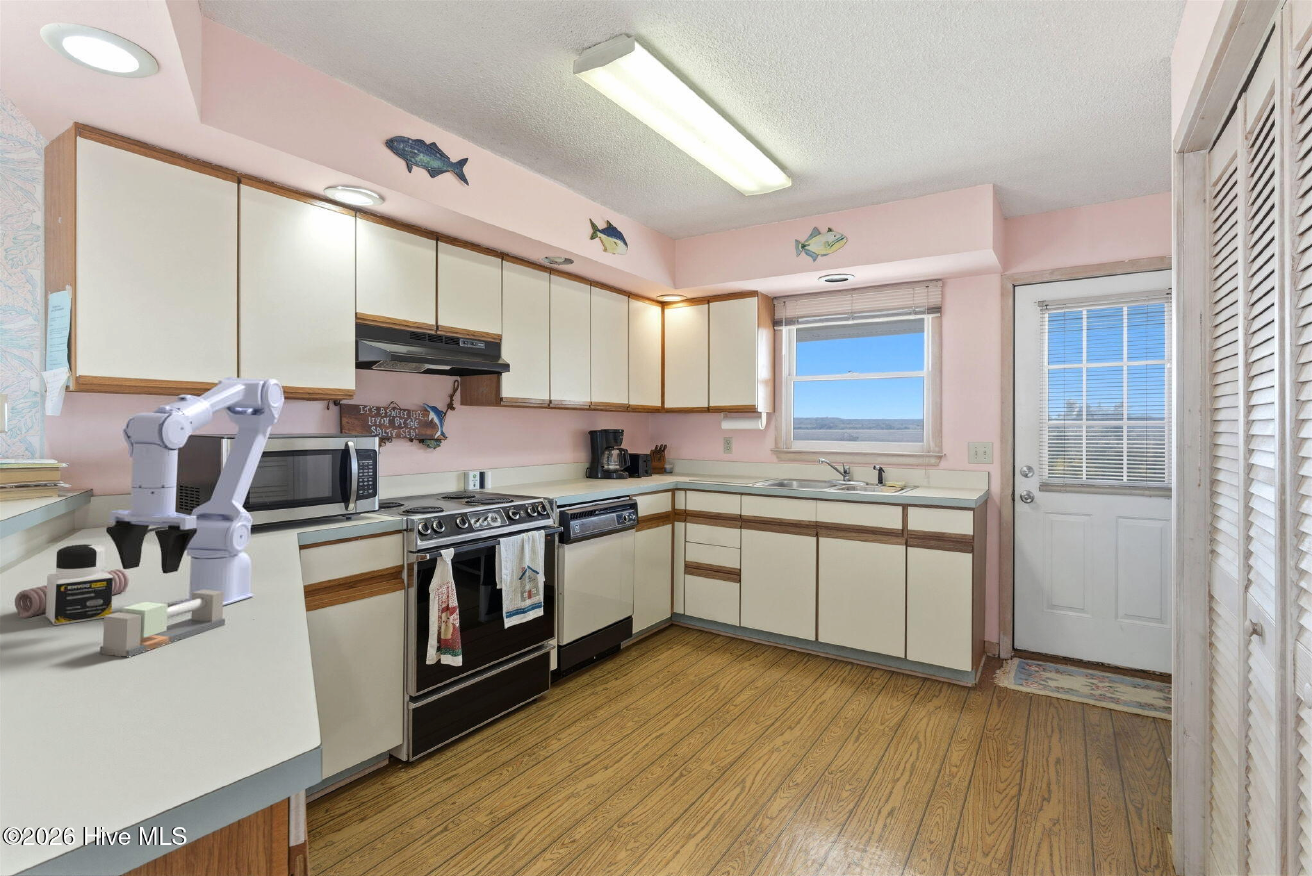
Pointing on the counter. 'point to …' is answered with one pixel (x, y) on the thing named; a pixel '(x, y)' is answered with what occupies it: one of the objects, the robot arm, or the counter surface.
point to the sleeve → (150, 617)
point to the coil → (38, 595)
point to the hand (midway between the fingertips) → (150, 570)
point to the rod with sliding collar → (205, 616)
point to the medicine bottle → (79, 585)
